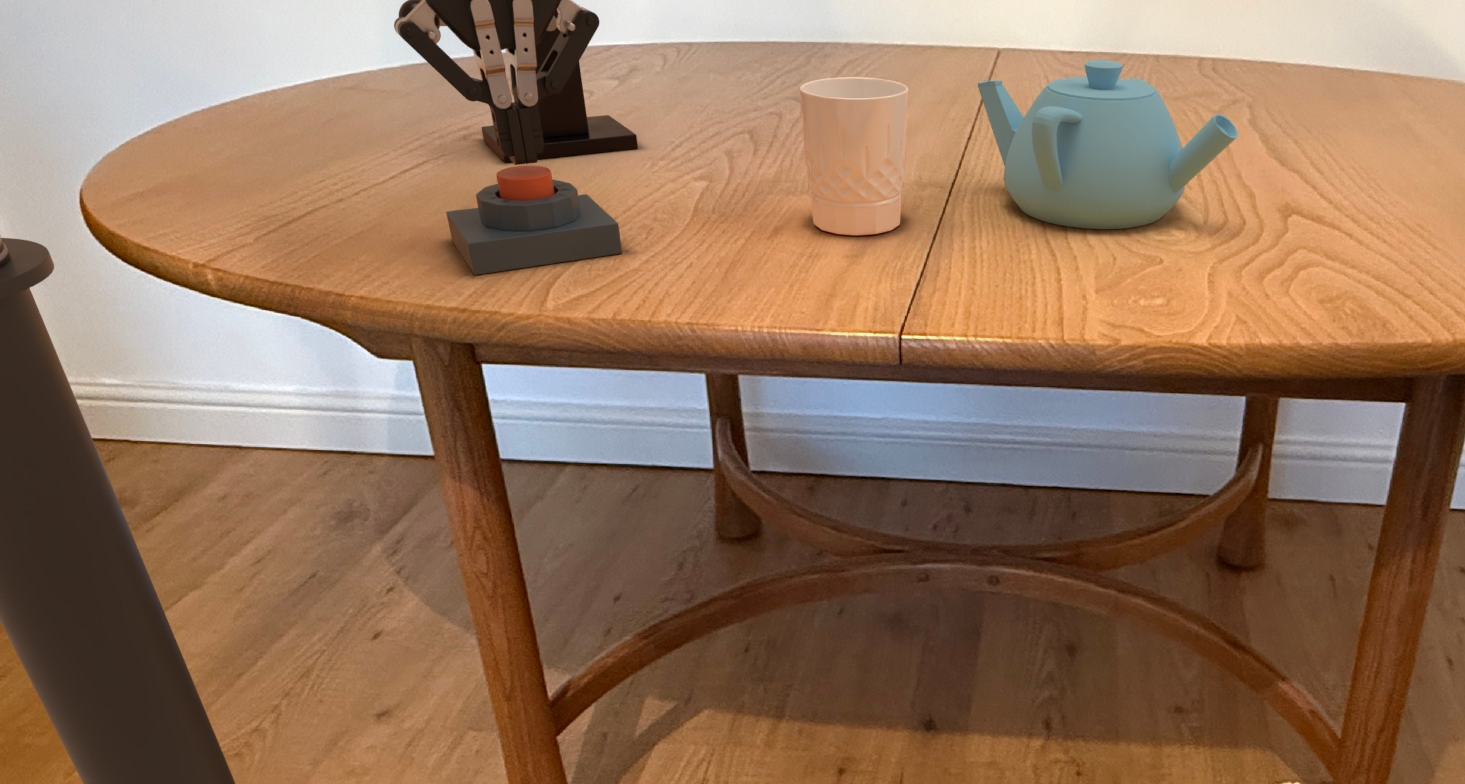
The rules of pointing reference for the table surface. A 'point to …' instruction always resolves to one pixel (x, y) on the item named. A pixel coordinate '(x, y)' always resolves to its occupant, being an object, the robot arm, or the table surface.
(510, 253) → the button block
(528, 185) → the button
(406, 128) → the table surface
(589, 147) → the bracket
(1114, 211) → the teapot
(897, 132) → the peach cup
